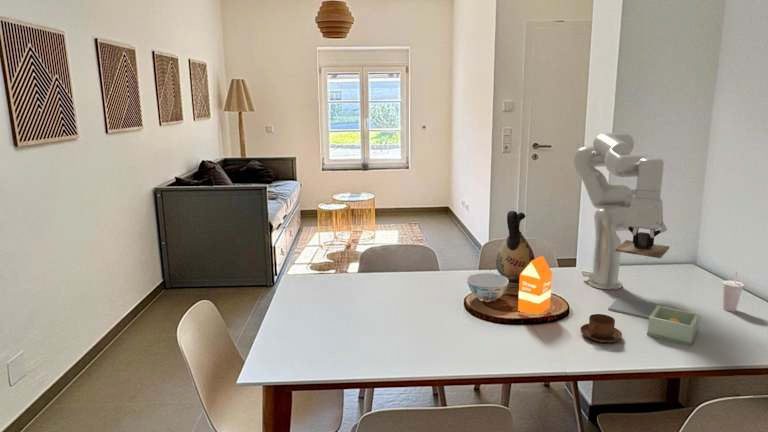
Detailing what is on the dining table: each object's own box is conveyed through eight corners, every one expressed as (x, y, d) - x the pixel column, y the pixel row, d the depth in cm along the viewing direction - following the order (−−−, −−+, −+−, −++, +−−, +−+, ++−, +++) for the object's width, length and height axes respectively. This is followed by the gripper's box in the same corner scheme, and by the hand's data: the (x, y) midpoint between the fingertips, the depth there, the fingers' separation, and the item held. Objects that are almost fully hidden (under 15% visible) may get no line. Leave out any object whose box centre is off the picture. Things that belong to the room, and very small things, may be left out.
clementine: (664, 331, 164) (665, 319, 163) (666, 326, 167) (668, 315, 166) (678, 334, 161) (680, 322, 161) (681, 329, 164) (682, 318, 164)
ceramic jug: (504, 273, 223) (507, 204, 216) (539, 280, 214) (543, 208, 207) (487, 284, 209) (489, 211, 203) (524, 292, 200) (528, 216, 194)
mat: (608, 309, 183) (608, 308, 183) (619, 297, 195) (619, 295, 194) (655, 320, 174) (655, 318, 174) (664, 306, 185) (664, 304, 185)
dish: (647, 335, 163) (649, 317, 162) (655, 322, 173) (657, 305, 171) (690, 345, 156) (693, 327, 155) (697, 331, 165) (699, 314, 164)
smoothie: (743, 313, 179) (749, 274, 175) (723, 312, 180) (728, 273, 177) (735, 306, 185) (741, 268, 182) (715, 305, 186) (720, 267, 183)
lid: (615, 251, 178) (616, 234, 177) (626, 242, 189) (627, 226, 188) (660, 258, 170) (662, 241, 169) (669, 248, 181) (670, 232, 179)
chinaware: (462, 303, 190) (463, 283, 188) (471, 290, 203) (472, 271, 202) (504, 309, 184) (504, 288, 183) (510, 294, 198) (511, 275, 196)
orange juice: (517, 314, 180) (520, 258, 176) (529, 306, 187) (532, 253, 182) (538, 320, 175) (541, 263, 171) (550, 312, 181) (553, 257, 177)
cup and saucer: (618, 349, 155) (620, 330, 153) (576, 340, 161) (577, 321, 160) (624, 334, 165) (625, 315, 163) (584, 325, 171) (585, 308, 170)
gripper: (618, 193, 178) (614, 245, 182) (673, 199, 167) (667, 253, 171) (624, 190, 183) (620, 241, 187) (677, 195, 173) (671, 248, 177)
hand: (642, 246), depth 179 cm, fingers closed on lid, 3 cm apart
